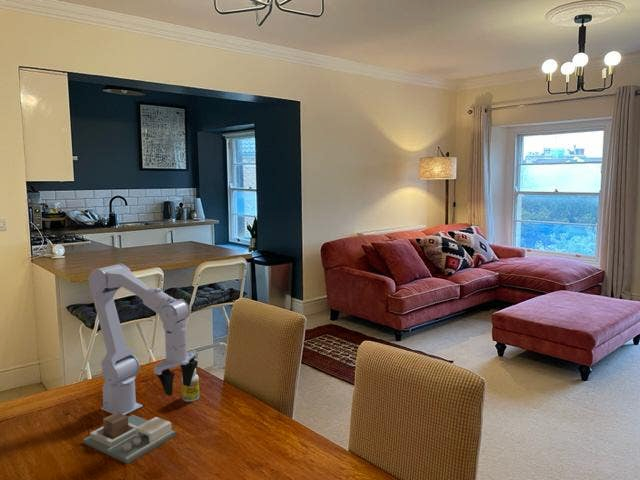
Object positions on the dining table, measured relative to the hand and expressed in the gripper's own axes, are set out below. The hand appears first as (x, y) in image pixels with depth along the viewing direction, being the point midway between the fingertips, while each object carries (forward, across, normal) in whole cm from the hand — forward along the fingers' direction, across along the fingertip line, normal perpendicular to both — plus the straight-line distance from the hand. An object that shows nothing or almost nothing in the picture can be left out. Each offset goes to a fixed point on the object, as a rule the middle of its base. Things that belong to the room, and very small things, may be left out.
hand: (177, 389), depth 143 cm
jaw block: (+10, -14, +9) cm, 20 cm away
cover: (+9, -9, 0) cm, 13 cm away
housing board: (+10, -12, +5) cm, 17 cm away
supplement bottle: (+11, +14, +9) cm, 20 cm away
